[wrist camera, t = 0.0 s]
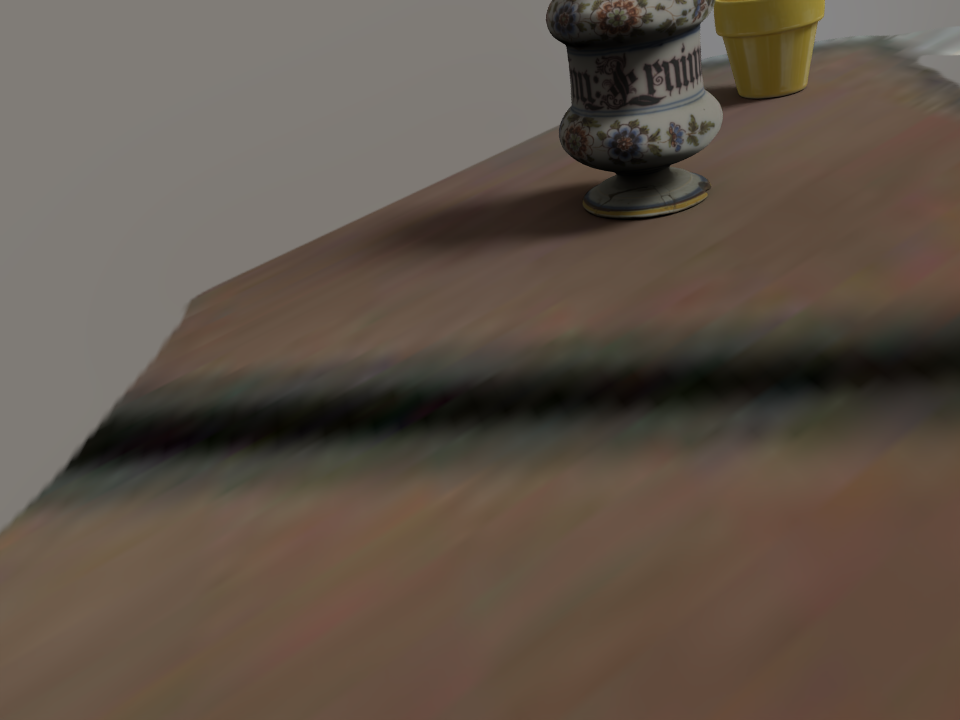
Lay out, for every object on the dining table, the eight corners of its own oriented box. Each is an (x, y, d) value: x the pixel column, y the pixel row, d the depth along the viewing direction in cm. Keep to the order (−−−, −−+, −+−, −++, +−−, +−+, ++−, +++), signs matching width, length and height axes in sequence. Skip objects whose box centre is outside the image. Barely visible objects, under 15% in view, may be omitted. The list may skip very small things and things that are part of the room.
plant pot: (703, 93, 94) (696, -4, 90) (794, 72, 95) (793, -25, 91) (744, 110, 85) (739, 4, 81) (845, 87, 86) (846, -20, 81)
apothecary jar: (727, 217, 62) (711, -63, 53) (558, 232, 65) (519, -29, 57) (726, 164, 72) (713, -78, 64) (580, 180, 75) (549, -48, 67)
